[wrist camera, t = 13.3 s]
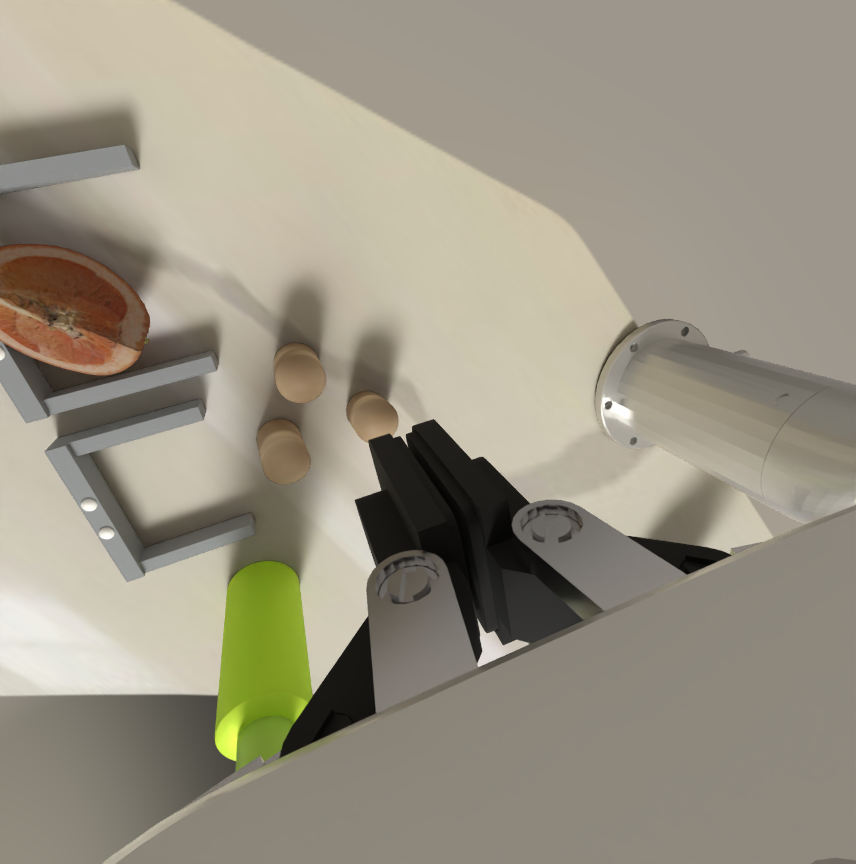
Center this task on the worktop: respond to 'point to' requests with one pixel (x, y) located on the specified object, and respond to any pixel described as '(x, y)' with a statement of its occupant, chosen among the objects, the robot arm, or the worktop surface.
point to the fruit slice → (69, 310)
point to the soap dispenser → (261, 663)
